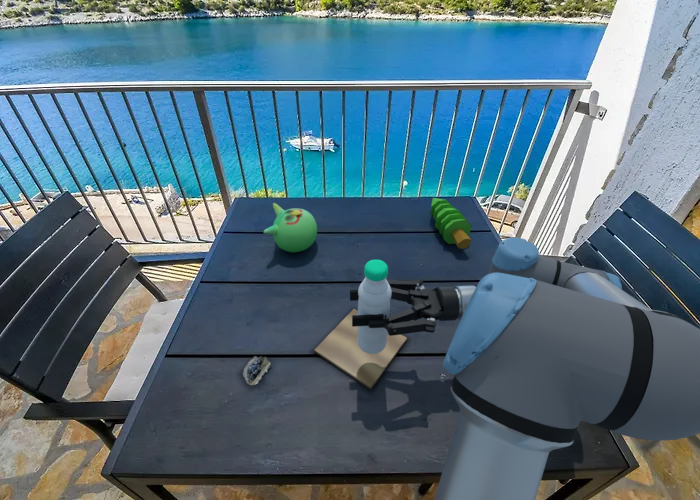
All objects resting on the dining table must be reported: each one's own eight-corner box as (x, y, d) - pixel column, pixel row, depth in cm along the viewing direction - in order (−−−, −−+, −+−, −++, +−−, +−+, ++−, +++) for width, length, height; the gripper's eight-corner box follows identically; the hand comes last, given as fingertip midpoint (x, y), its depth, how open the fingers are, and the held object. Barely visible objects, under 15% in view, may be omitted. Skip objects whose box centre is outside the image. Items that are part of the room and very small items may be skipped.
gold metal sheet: (370, 389, 84) (370, 387, 84) (314, 352, 93) (314, 349, 92) (406, 340, 96) (407, 337, 95) (353, 310, 104) (353, 308, 103)
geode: (274, 358, 91) (273, 354, 90) (265, 387, 85) (264, 383, 84) (249, 356, 92) (247, 352, 90) (238, 384, 85) (236, 380, 84)
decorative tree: (462, 227, 116) (428, 183, 138) (443, 253, 123) (414, 206, 145) (487, 234, 121) (451, 189, 143) (468, 258, 127) (436, 212, 149)
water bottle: (370, 360, 80) (375, 283, 65) (351, 340, 85) (351, 263, 69) (392, 344, 84) (401, 267, 68) (372, 326, 88) (377, 249, 72)
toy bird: (316, 261, 122) (313, 226, 112) (267, 260, 122) (261, 226, 113) (319, 231, 136) (317, 198, 127) (276, 230, 136) (271, 198, 127)
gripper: (465, 350, 72) (354, 356, 71) (440, 284, 87) (348, 288, 86) (473, 327, 67) (354, 333, 66) (445, 261, 82) (348, 265, 81)
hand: (351, 307), depth 76 cm, fingers closed on water bottle, 7 cm apart
